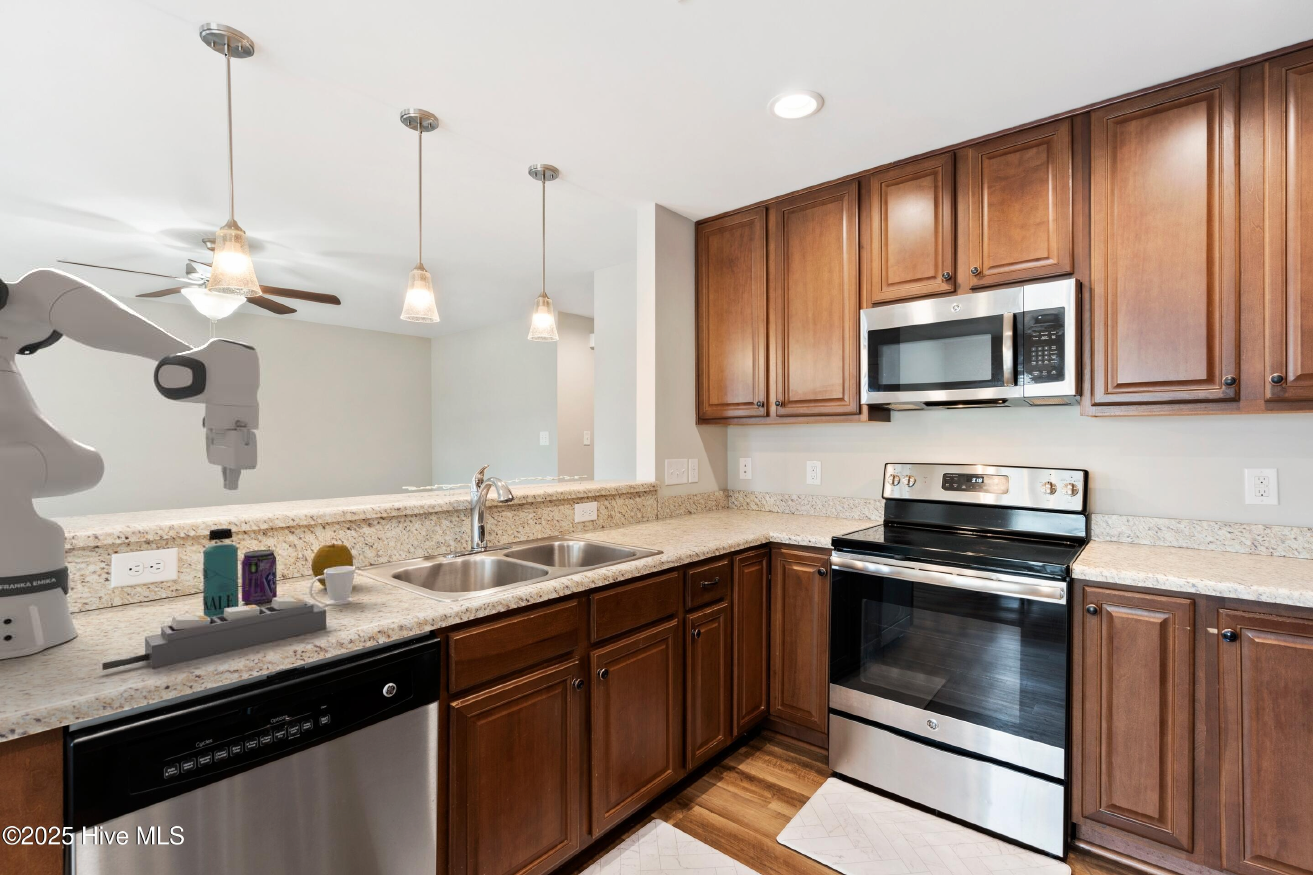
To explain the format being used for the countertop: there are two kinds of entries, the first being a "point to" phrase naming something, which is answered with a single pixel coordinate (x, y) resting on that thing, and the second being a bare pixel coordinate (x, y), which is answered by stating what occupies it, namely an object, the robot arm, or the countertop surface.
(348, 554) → the apple
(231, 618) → the rocker
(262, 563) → the beverage can
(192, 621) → the block
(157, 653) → the rocker switch panel
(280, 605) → the rocker
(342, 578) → the cup
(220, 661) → the countertop surface
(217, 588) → the beverage bottle
